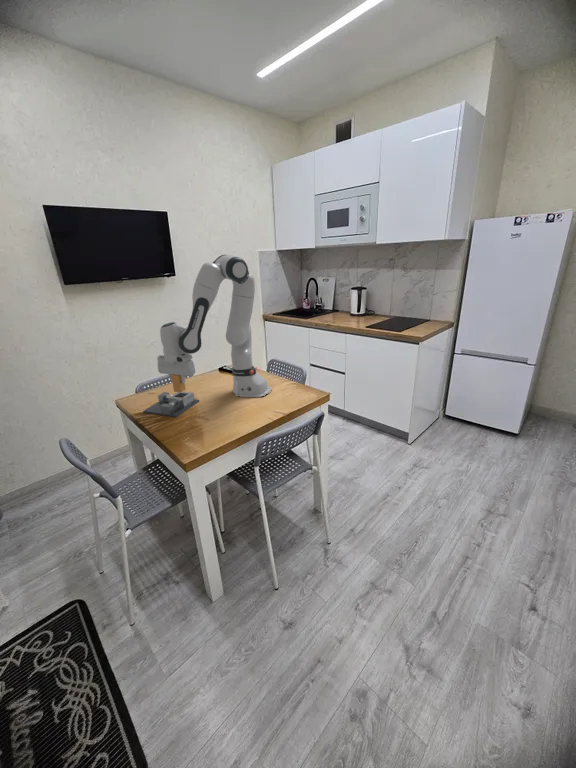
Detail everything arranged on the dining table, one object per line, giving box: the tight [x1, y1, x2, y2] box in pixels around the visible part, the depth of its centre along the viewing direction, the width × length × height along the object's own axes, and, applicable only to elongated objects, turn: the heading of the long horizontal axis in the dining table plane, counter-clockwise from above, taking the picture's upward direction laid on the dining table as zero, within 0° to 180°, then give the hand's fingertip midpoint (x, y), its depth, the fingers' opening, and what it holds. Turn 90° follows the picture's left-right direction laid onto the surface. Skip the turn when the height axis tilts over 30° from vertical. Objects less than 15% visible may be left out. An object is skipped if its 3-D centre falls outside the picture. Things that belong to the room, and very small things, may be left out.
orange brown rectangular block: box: [171, 374, 186, 393], centre depth 160 cm, size 4×4×9 cm
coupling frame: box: [142, 391, 200, 418], centre depth 162 cm, size 20×19×6 cm
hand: (178, 382), depth 160 cm, fingers closed on orange brown rectangular block, 4 cm apart
